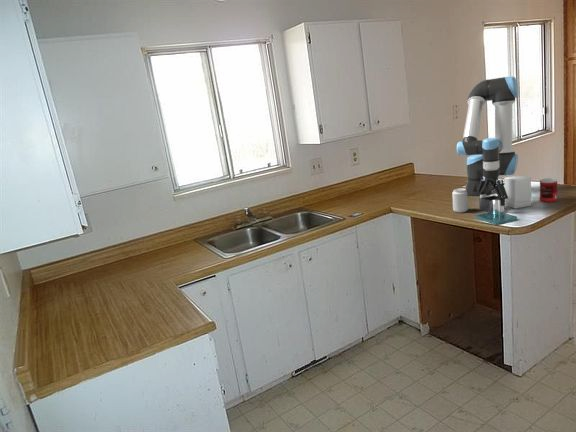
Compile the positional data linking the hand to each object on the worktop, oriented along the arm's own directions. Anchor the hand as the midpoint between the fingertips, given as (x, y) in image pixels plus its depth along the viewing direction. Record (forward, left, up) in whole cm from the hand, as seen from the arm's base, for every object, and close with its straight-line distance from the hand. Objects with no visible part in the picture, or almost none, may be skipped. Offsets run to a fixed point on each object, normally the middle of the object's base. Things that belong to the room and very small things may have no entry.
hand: (492, 209), depth 222 cm
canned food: (+6, +29, 0) cm, 30 cm away
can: (-8, -13, 0) cm, 15 cm away
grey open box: (0, 0, 0) cm, 0 cm away
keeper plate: (+14, -9, 0) cm, 17 cm away
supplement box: (+3, +13, 0) cm, 13 cm away
